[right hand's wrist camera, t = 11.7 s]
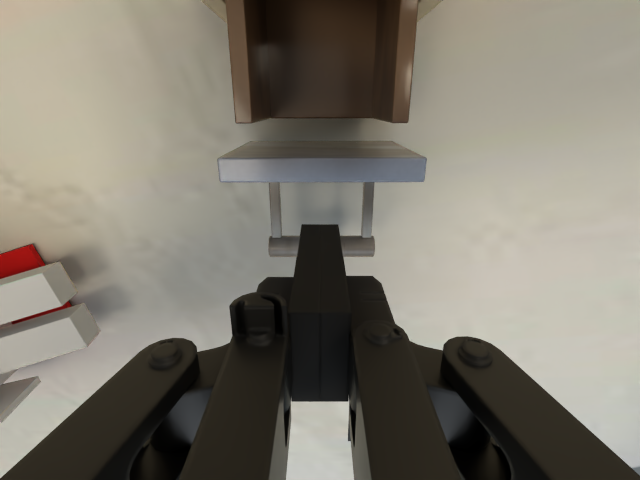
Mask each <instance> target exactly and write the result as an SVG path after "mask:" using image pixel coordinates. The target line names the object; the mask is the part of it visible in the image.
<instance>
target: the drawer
mask: <svg viewBox="0 0 640 480" xmlns="http://www.w3.org/2000/svg"><path fill="white" fill-rule="evenodd" d="M225 2H226V14H227V26H228V38H229V50H230V62H231V74H232V86H233V98H234V110H235V122H236V123H254V122H258V121H262V120H266V119H270V118H374V119H378V120H382V121H387V122H391V123H408V121H409V109H410V97H411V85H412V73H413V62H414V50H415V38H416V26H417V15H418V3H419V0H225ZM217 160H218V170H219V179H220V182H269V191H270V210H271V228H272V236H270V237H269V255H270V257H297V253H298V246H299V240H300V236H282V223H281V199H280V182H363V205H362V228H361V235H362V236H340V240H341V246H342V253H343V257H373V256H374V252H375V241H374V236H371V234H372V216H373V197H374V182H424V179H425V170H426V160H427V159H426V158H425V157H423V156H421V155H419V154H417V153H415V152H413V151H411V150H409V149H407V148H405V147H403V146H401V145H399V144H397V143H395V142H393V141H250V142H248V143H246V144H244V145H243V146H241V147H239V148H237V149H235V150H233V151H231V152H229V153H227V154H225V155H223V156H221V157H219V158H218V159H217Z"/></svg>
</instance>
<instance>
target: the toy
mask: <svg viewBox="0 0 640 480" xmlns="http://www.w3.org/2000/svg"><path fill="white" fill-rule="evenodd" d="M77 292H78V291H77V290H76V288H75V286H74V285H73V283H72V281H71V280H70V278H69V276H68V274H67V273H66V271H65V269H64V268H63V266H62V264H61V262H60V261H59V262H55V263H52V264H49V265H45V263H44V262H43V260H42V259H41V257H40V256H39V254H38V253H37V251H36V249H35V248H34V246H33V245H32V244H31V245H27V246H24V247H21V248H18V249H15V250H12V251H9V252H6V253H3V254H0V423H2V422H3V421H4V420H5V419H6V418H7V417H8V416H9V415H10V414H11V413H12V411H13V410H14V409H15V408H16V407H17V406H18V405H19V404H20V403H21V402H22V401H23V400H24V399H25V398H26V397H27V396H28V395H29V394H30V393H31V391H32V390H33V389H34V388H35V387H36V386H37V385H38V384H39V383H40V382H41V380H40V379H39V377H38V376H37V377H32V378H28V379H23V380H19V381H15V382H10V383H6V384H3V383H4V382H5V381H6V380H7V379H8V378H9V377H10V376H11V375H12V374H13V373H14V372H15V371H16V370H17V369H19V368H22V367H25V366H28V365H32V364H35V363H38V362H41V361H44V360H48V359H51V358H54V357H57V356H60V355H64V354H67V353H70V352H73V351H77V350H80V349H83V348H86V347H88V346H89V345H90V343H91V342H92V341H93V340H94V338H95V337H96V336H97V335H98V334H99V332H100V329H99V327H98V326H97V324H96V322H95V320H94V319H93V317H92V315H91V314H90V312H89V310H88V309H87V307H86V305H85V303H82V304H78V305H75V306H71V304H70V303H69V301H68V300H69V299H71V298H72V297H73V296H74V295H75V294H76V293H77Z"/></svg>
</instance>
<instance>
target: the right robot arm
mask: <svg viewBox="0 0 640 480" xmlns="http://www.w3.org/2000/svg"><path fill="white" fill-rule="evenodd" d="M229 307H230V316H231V325H232V335H233V336H232V339H231V342H230V343H228V344H226V345H224V346H221V347H218V348H214V349H209V350H205V351H200V352H197V347H196V345H195V344H194V343H193V342H192V341H189V340H187V339H184V338H171V339H165V340H161V341H158V342H156V343H153V344H151V345H149V346H148V347H146V348H145V349H143V350H142V351H140V352H139V353H138V354H137V355H136V356H135V357H134V358H133V359H131V360H130V361H129V362H128V363H127V364H126V365H125V366H124V367H123V368H122V369H120V370H119V371H118V372H117V373H116V374H115V375H114V376H113V377H112V378H111V379H109V380H108V381H107V382H106V383H105V384H104V385H103V386H102V387H101V388H100V389H98V390H97V391H96V392H95V393H94V394H93V395H92V396H91V397H90V398H89V399H87V400H86V401H85V402H84V403H83V404H82V405H81V406H80V407H79V408H78V409H76V410H75V411H74V412H73V413H72V414H71V415H70V416H69V417H68V418H66V419H65V420H64V421H63V422H62V423H61V424H60V425H59V426H58V427H57V428H55V429H54V430H53V431H52V432H51V433H50V434H49V435H48V436H47V437H46V438H44V439H43V440H42V441H41V442H40V443H39V444H38V445H37V446H36V447H35V448H33V449H32V450H31V451H30V452H29V453H28V454H27V455H26V456H25V457H24V458H22V459H21V460H20V461H19V462H18V463H17V464H16V465H15V466H14V467H13V468H11V469H10V470H9V471H8V472H7V473H6V474H5V475H4V476H3V477H2V478H0V480H286V471H287V460H288V448H289V437H290V426H291V398H292V401H348V398H349V428H348V441H351V448H352V459H353V470H354V480H640V476H639V475H638V474H637V473H636V472H635V471H634V470H633V469H632V468H631V467H629V466H628V465H627V464H626V463H625V462H624V461H623V460H622V459H621V458H620V457H618V456H617V455H616V454H615V453H614V452H613V451H612V450H611V449H610V448H608V447H607V446H606V445H605V444H604V443H603V442H602V441H601V440H600V439H598V438H597V437H596V436H595V435H594V434H593V433H592V432H591V431H590V430H588V429H587V428H586V427H585V426H584V425H583V424H582V423H581V422H580V421H578V420H577V419H576V418H575V417H574V416H573V415H572V414H571V413H570V412H568V411H567V410H566V409H565V408H564V407H563V406H562V405H561V404H560V403H558V402H557V401H556V400H555V399H554V398H553V397H552V396H551V395H550V394H548V393H547V392H546V391H545V390H544V389H543V388H542V387H541V386H540V385H539V384H537V383H536V382H535V381H534V380H533V379H532V378H531V377H530V376H529V375H527V374H526V373H525V372H524V371H523V370H522V369H521V368H520V367H519V366H517V365H516V364H515V363H514V362H513V361H512V360H511V359H510V358H509V357H507V356H506V355H505V354H504V353H503V352H502V351H501V350H499V349H498V348H497V347H495V346H494V345H492V344H491V343H488V342H486V341H483V340H481V339H478V338H473V337H455V338H452V339H449V340H448V341H447V342H446V343H445V344H444V347H443V351H442V350H438V349H433V348H428V347H424V346H421V345H417V344H415V343H413V342H411V341H409V338H408V336H407V334H406V333H405V331H404V330H403V329H402V328H400V327H399V326H397V325H396V324H395V322H394V319H393V316H392V313H391V310H390V308H389V305H388V302H387V299H386V296H385V294H384V290H383V287H382V284H381V283H380V282H379V281H378V280H377V279H375V278H374V277H373V276H346V272H345V266H344V259H343V253H342V246H341V240H340V233H339V227H338V225H302V226H301V233H300V240H299V246H298V253H297V259H296V266H295V272H294V277H267V278H266V279H265V280H264V281H262V282H261V283H260V284H259V286H258V289H257V292H255V293H249V294H246V295H243V296H241V297H239V298H237V299H235V300H234V301H233V302H232V303H231V305H230V306H229Z"/></svg>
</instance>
